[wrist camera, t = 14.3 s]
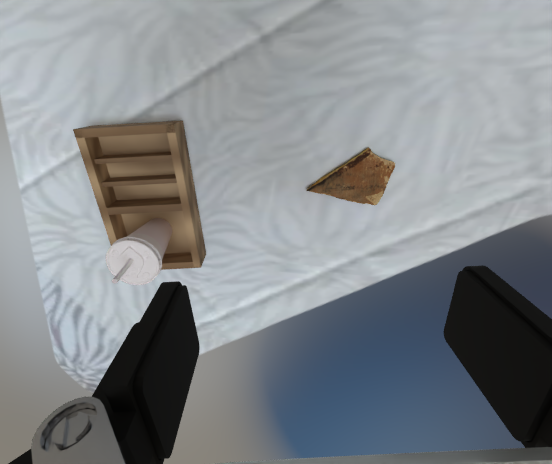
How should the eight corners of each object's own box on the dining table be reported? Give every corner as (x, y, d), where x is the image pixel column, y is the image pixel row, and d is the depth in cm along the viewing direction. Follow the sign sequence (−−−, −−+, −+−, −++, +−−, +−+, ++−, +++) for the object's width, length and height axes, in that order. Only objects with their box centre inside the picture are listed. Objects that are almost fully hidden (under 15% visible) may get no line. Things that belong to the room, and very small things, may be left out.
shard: (305, 187, 43) (306, 191, 42) (321, 134, 40) (323, 136, 39) (374, 204, 45) (378, 208, 43) (394, 154, 42) (399, 156, 40)
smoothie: (179, 210, 43) (142, 261, 30) (182, 249, 46) (149, 310, 33) (134, 208, 43) (77, 258, 30) (140, 247, 46) (91, 308, 33)
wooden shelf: (91, 125, 39) (73, 129, 35) (182, 120, 39) (173, 123, 35) (131, 257, 47) (119, 271, 44) (206, 254, 47) (200, 267, 44)
